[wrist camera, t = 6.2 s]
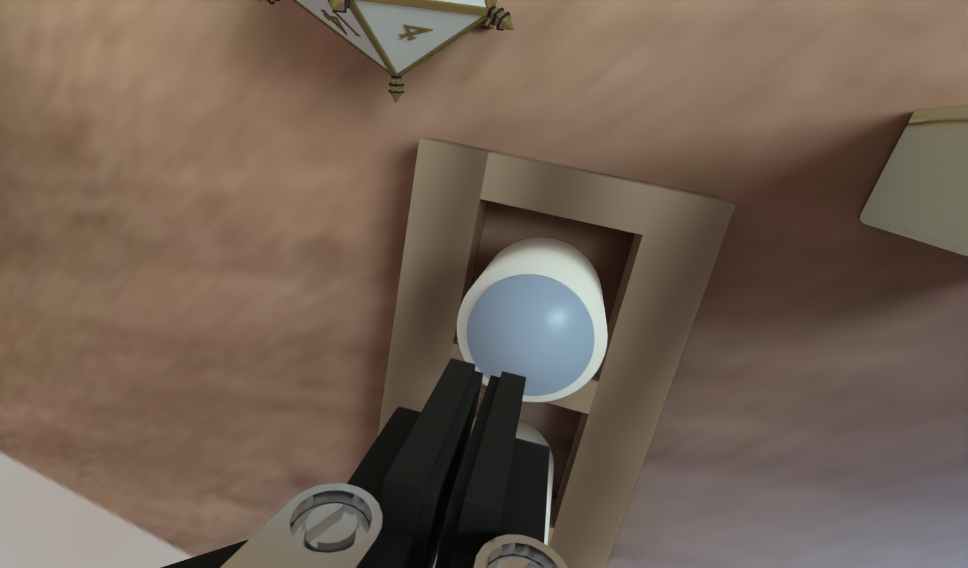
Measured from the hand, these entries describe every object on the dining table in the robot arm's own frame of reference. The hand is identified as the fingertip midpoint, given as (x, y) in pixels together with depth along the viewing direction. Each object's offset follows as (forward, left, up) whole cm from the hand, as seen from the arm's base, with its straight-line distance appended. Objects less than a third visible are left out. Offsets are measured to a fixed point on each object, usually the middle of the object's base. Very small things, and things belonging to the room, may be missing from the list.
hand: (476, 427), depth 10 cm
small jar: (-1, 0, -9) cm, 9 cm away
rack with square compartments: (-1, +8, -12) cm, 14 cm away
